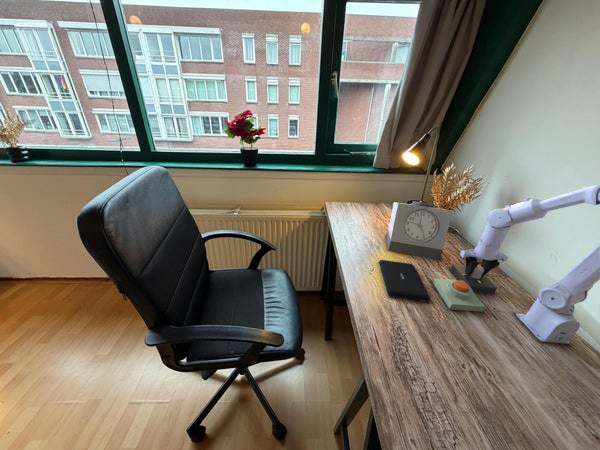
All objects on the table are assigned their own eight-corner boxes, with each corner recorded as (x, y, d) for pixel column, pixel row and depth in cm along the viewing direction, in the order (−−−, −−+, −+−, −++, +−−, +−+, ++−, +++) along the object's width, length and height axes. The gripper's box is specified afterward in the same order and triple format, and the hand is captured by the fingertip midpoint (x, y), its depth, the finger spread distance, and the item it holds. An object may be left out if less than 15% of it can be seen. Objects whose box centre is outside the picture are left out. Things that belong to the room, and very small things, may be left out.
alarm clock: (388, 250, 103) (400, 206, 94) (385, 232, 117) (396, 192, 108) (440, 259, 100) (458, 214, 90) (431, 240, 113) (446, 199, 104)
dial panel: (494, 293, 83) (497, 287, 82) (467, 291, 84) (470, 285, 82) (473, 271, 94) (476, 265, 93) (450, 269, 94) (452, 263, 93)
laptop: (421, 268, 93) (422, 264, 93) (431, 306, 76) (433, 301, 75) (378, 260, 97) (379, 255, 96) (378, 294, 80) (380, 289, 79)
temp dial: (476, 272, 89) (480, 263, 88) (482, 279, 86) (487, 270, 84) (465, 271, 89) (469, 262, 88) (471, 278, 86) (475, 269, 84)
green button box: (482, 311, 76) (487, 302, 74) (449, 309, 76) (454, 299, 74) (461, 285, 86) (465, 276, 84) (432, 283, 86) (436, 274, 85)
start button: (469, 293, 78) (471, 289, 77) (456, 292, 78) (458, 287, 77) (462, 284, 81) (464, 280, 80) (450, 283, 81) (452, 279, 80)
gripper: (504, 237, 84) (487, 269, 91) (461, 234, 85) (448, 265, 91) (519, 249, 78) (500, 281, 85) (473, 245, 79) (457, 278, 85)
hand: (474, 274), depth 87 cm, fingers closed on temp dial, 4 cm apart
